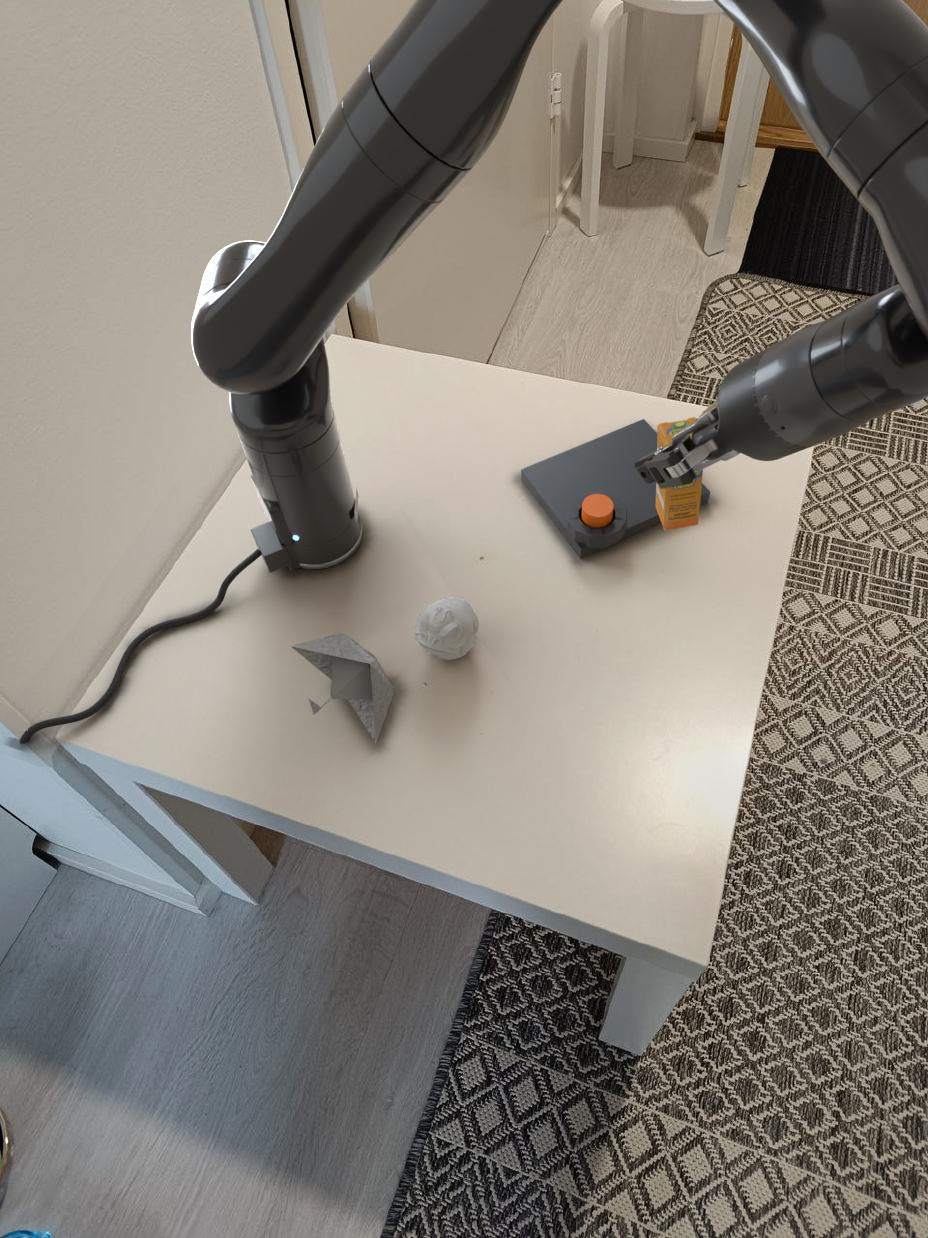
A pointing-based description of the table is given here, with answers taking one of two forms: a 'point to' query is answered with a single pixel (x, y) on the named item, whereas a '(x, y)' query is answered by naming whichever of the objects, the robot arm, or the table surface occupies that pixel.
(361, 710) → the gray faceted winged figurine
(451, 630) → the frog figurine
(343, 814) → the table surface
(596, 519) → the tare button
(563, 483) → the scale
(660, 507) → the supplement box
